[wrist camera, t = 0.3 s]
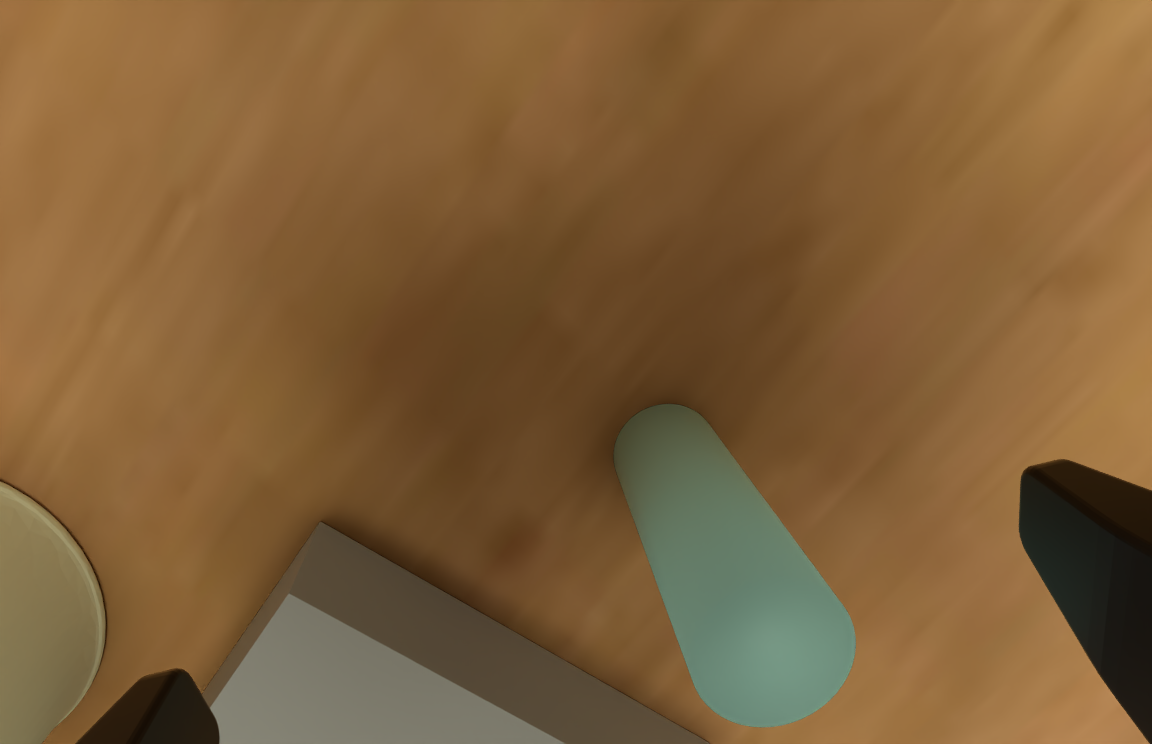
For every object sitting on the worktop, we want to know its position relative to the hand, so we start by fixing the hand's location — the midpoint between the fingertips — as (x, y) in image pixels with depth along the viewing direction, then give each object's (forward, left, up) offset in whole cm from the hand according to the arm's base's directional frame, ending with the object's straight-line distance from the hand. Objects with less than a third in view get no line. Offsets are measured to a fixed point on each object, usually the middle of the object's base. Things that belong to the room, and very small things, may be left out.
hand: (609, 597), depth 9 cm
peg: (-1, -5, -15) cm, 16 cm away
